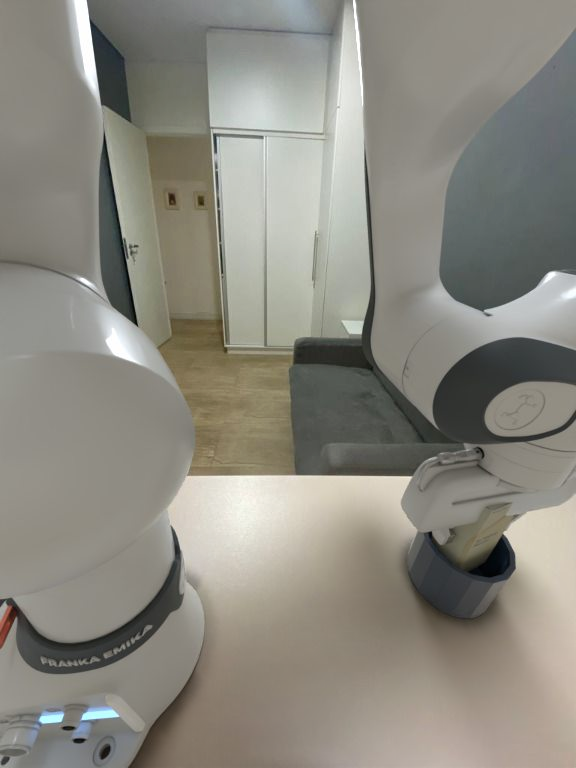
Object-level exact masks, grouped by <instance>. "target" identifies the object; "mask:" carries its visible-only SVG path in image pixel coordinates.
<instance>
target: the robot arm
mask: <svg viewBox="0 0 576 768" xmlns="http://www.w3.org/2000/svg"><path fill="white" fill-rule="evenodd" d="M87 1H88V0H0V768H129V767H130V765H132V763H133V761H134V759H135V758H136V756H137V755H138V753H139V751H140V750H141V747H142V746H143V744H144V741H145V739H146V738H147V735H148V734H149V732H150V729H151V728H152V727H153V725H154V724H155V722H156V721H157V720H158V718H160V716H161V715H162V714H163V713H164V712H165V711H166V710H167V709H168V707H170V705H171V704H172V703H173V702H174V701H175V699H177V697H178V696H179V695H180V693H181V692H182V690H183V689H184V687H185V686H186V685H187V683H188V681H189V680H190V678H191V676H192V674H193V672H194V670H195V667H196V666H197V663H198V660H199V658H200V655H201V652H202V648H203V644H204V638H205V629H206V621H205V620H206V618H205V611H204V607H203V603H202V600H201V598H200V596H199V594H198V592H197V591H196V589H195V588H194V587H193V585H191V584H190V582H188V581H187V569H186V564H185V558H184V554H183V550H182V549H181V544H180V541H179V538H178V534H177V532H176V530H175V529H174V527H173V525H172V524H171V521H170V517H169V511H168V510H169V509H168V508H169V507H170V505H172V503H173V502H174V500H175V498H176V496H177V495H178V493H179V492H180V490H181V488H182V487H183V484H184V483H185V480H186V478H187V476H188V474H189V471H190V468H191V466H192V463H193V460H194V459H193V458H194V454H195V448H196V427H195V422H194V419H193V415H192V412H191V409H190V407H189V405H188V402H187V401H186V398H185V396H184V394H183V393H182V390H181V388H180V387H179V384H178V382H177V380H176V378H175V376H174V374H173V373H172V371H171V368H170V367H169V365H168V363H167V362H166V360H165V359H164V357H163V356H162V354H161V352H160V350H159V348H158V347H157V346H156V344H155V343H154V342H153V341H152V340H151V339H150V337H149V336H148V335H147V334H146V333H145V332H144V331H143V330H141V328H140V327H138V326H137V325H136V324H135V323H134V322H132V321H131V320H130V319H129V318H127V317H126V316H125V315H123V314H122V313H121V312H119V311H118V310H117V309H116V308H114V307H113V305H112V304H111V301H110V300H109V298H108V295H107V291H106V288H105V287H104V282H103V277H102V267H101V254H100V253H101V251H100V250H101V249H100V215H99V214H100V206H99V205H100V204H99V203H100V198H99V195H100V194H99V193H100V191H99V190H100V188H99V187H100V168H101V157H102V153H103V146H104V133H105V129H104V114H103V109H102V108H103V107H102V102H101V95H100V89H99V82H98V81H99V80H98V73H97V67H96V60H95V53H94V52H95V51H94V45H93V37H92V31H91V23H90V17H89V8H88V2H87ZM352 1H353V9H354V21H355V30H356V31H355V33H356V43H357V53H358V61H359V62H358V63H359V72H360V73H359V74H360V87H361V102H362V103H361V105H362V127H363V145H364V146H363V156H364V157H363V163H364V164H363V167H364V168H363V169H364V171H363V173H364V193H365V194H364V195H365V209H366V224H367V225H366V226H367V228H366V229H367V240H368V241H367V244H368V256H369V272H370V275H369V276H370V292H369V299H368V304H367V308H366V313H365V316H364V319H363V324H362V329H361V349H362V352H363V354H364V357H365V359H366V360H367V362H368V363H369V364H370V366H372V368H374V369H375V370H376V371H377V372H379V373H380V374H382V376H384V377H385V378H386V379H388V380H389V381H390V382H391V383H392V385H394V387H395V388H396V389H398V391H399V392H400V393H401V394H402V395H403V396H404V398H406V400H407V401H408V402H409V403H410V404H412V406H414V407H415V408H416V409H417V410H418V411H419V412H420V413H421V414H422V416H424V417H425V418H426V420H428V421H429V423H430V424H432V426H433V427H435V428H436V429H437V430H438V431H440V433H441V434H443V435H444V436H445V437H446V438H447V439H449V440H451V441H454V442H457V443H461V444H463V447H464V449H460V450H457V451H444V452H443V451H442V452H440V453H437V454H436V456H432V457H430V458H427V459H426V460H424V461H423V462H422V463H421V464H420V465H419V466H418V467H417V469H416V470H415V472H414V473H413V475H412V477H411V478H410V480H409V482H408V484H407V486H406V487H405V490H404V492H403V494H402V497H401V498H400V506H401V509H402V511H403V513H404V514H405V516H406V517H407V519H408V520H409V522H410V523H411V524H412V526H413V527H414V529H416V531H417V530H418V531H419V532H422V533H426V532H430V531H432V534H433V536H434V538H435V539H436V541H437V542H438V543H439V544H440V545H443V544H448V543H452V542H453V539H454V538H455V536H456V534H455V533H454V531H453V530H452V529H450V528H454V527H455V526H460V525H465V524H470V523H475V522H477V521H478V520H479V518H480V516H481V514H482V513H483V511H484V509H485V507H489V506H495V505H501V504H509V503H512V502H513V504H512V505H511V507H510V508H509V510H508V511H507V513H506V514H505V515H506V516H510V515H514V516H513V518H512V519H511V521H510V523H509V524H508V526H507V528H506V529H505V531H504V532H507V531H508V529H509V528H510V526H511V525H512V524H513V523H515V522H516V521H517V520H519V519H520V518H522V517H523V516H525V515H526V514H527V513H529V512H534V511H539V510H543V509H548V508H549V509H550V508H554V507H558V506H561V505H563V504H565V503H566V502H568V501H570V499H572V498H573V497H574V496H575V495H576V269H569V268H568V269H566V268H565V269H557V270H552V271H551V270H550V271H549V272H547V273H546V274H545V275H544V276H543V277H542V278H541V280H540V281H539V282H538V284H537V285H536V287H534V289H532V290H531V291H529V292H527V293H525V294H524V295H522V296H520V297H518V298H515V299H514V300H511V301H510V302H507V303H505V304H501V305H499V306H496V307H492V308H487V309H484V310H483V311H481V310H480V309H478V308H477V309H476V308H474V307H473V306H469V305H467V304H465V303H462V302H460V301H457V300H456V299H454V298H453V296H451V295H450V293H449V292H448V291H447V290H446V288H445V287H444V285H443V282H442V279H441V276H440V267H441V254H442V243H443V233H444V232H443V231H444V220H445V210H446V209H445V208H446V198H447V192H448V191H447V190H448V187H449V183H450V180H451V177H452V175H453V172H454V169H455V167H456V166H457V163H458V162H459V160H460V158H461V156H462V154H463V153H464V152H465V150H466V148H467V147H468V146H469V144H470V143H471V142H472V140H473V139H474V137H476V135H477V134H478V133H479V131H480V130H481V129H482V128H483V127H484V126H485V125H486V124H487V122H488V121H489V120H490V119H491V118H492V117H493V116H495V114H496V113H497V112H498V111H499V110H500V109H502V108H503V106H505V104H507V103H508V102H509V101H510V100H511V99H512V98H513V97H515V96H516V95H517V93H519V92H520V91H521V90H522V89H523V88H524V87H525V86H526V85H527V84H528V83H529V82H530V81H532V79H533V78H534V77H535V76H536V75H537V74H538V73H539V72H540V70H542V69H543V68H544V67H545V66H546V65H547V63H548V62H549V61H550V60H551V59H552V58H553V56H555V55H556V53H557V52H558V51H559V50H560V49H561V47H562V46H563V45H564V44H565V42H567V40H568V39H569V37H570V36H571V34H572V33H573V32H574V31H575V29H576V0H352ZM108 747H110V751H109V753H108V755H107V756H106V757H105V758H102V755H103V752H104V751H105V750H106V748H108Z"/></svg>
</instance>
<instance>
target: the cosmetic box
mask: <svg viewBox="0 0 576 768" xmlns="http://www.w3.org/2000/svg"><path fill="white" fill-rule="evenodd" d="M512 504H513V502H512V503H509V504H501V505H495V506H489V507H485V509H484V511H483V513H482V514H481V516H480V518H479V520H478V521H477V522H475V523H470V524H465V525H460V526H455V527H454V528H450V529H452V530H453V531H454V533H455V534H456V536H455V538H454V539H453V542H452V543H448V544H443V545H440V544H439V543H438V542H437V541H436V539H435V538H434V536H433V535H432V538H431V541H432V543H433V544H434V546H435V547H436V548H437V550H438V551H439V553H440V554H442V555H443V556H444V557H445V558H446V559H447V560H449V561H450V562H451V563H452V564H453V565H454V566H456V567H458V568H460V569H462V570H464V571H466V572H468V571H470V570H472V569H474V568H476V567H478V566H480V565H481V564H483V563H485V562H486V560H487V559H488V557H489V555H490V554H491V552H492V551H493V549H494V547H495V546H496V544H497V542H498V541H499V539H500V537H501V536H502V534H504V533H505V532H506V531H505V529H506V528H507V526H508V524H509V523H510V521H511V519H512V518H513V516H514V515H510V516H506V515H505V514H506V513H507V511H508V510H509V508H510V507H511V505H512Z"/></svg>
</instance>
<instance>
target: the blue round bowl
mask: <svg viewBox="0 0 576 768" xmlns="http://www.w3.org/2000/svg"><path fill="white" fill-rule="evenodd" d="M432 535H433V534H432V531H430V532H426V533H422V532H419V531H418V530H417V529H416V531H415V533H414V536H413V538H412V541H411V543H410V546H409V549H408V552H407V556H406V568H407V572H408V575H409V577H410V580H411V582H412V584H413V585H414V586H415V588H416V589H417V591H418V592H419V593H420V595H421V596H422V597H423V598H424V599H425V600H426V601H427V602H428V603H429V604H430V605H432V606H433V607H435V608H436V609H437V610H439V611H440V612H442V613H445V614H446V615H449V616H451V617H455V618H458V619H474V618H478V617H480V616H481V615H482V614H484V613H486V611H487V609H488V608H489V607H490V605H491V604H492V602H493V601H494V600H495V599H496V597H497V596H498V595H499V593H500V591H501V590H502V589H503V588H504V586H505V585H506V583H507V582H508V580H509V579H511V576H512V575H513V574H514V573H515V571H516V569H517V565H516V563H517V561H516V553H515V550H514V548H513V547H512V544H511V543H510V540H509V538H508V537H507V536H506V535H505V534H504V533H503V534H502V536H501V537H500V539H499V541H498V542H497V544H496V546H495V547H494V549H493V551H492V552H491V554H490V555H489V557H488V559H487V560H486V562H485V563H483V564H481V565H480V566H478V567H476V568H474V569H472V570H470V571H468V572H466V571H464V570H462V569H460V568H458V567H456V566H454V565H453V564H452V563H451V562H450V561H449V560H447V559H446V558H445V557H444V556H443V555H442V554H440V553H439V551H438V550H437V548H436V547H435V546H434V544H433V543H432V541H431V538H432Z"/></svg>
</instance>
